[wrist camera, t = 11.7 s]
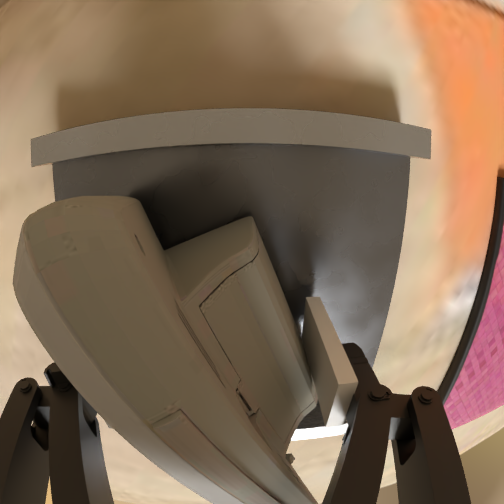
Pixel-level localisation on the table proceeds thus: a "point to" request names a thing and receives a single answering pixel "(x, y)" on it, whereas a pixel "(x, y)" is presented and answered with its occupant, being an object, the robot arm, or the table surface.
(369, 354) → the rail plate
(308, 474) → the table surface
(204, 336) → the digital clock
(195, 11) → the table surface
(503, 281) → the laptop bag
